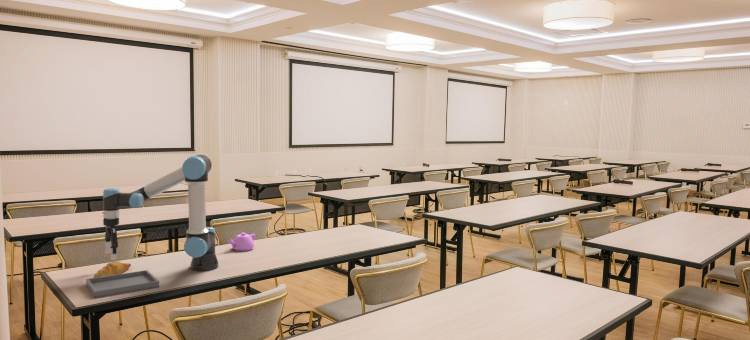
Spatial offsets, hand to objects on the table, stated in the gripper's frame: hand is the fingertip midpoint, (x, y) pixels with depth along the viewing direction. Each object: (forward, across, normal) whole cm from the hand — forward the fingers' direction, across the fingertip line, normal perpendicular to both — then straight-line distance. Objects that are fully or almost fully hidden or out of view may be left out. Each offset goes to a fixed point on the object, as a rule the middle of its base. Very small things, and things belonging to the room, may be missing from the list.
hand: (111, 256), depth 279 cm
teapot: (+9, -12, +79) cm, 81 cm away
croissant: (+10, 0, 0) cm, 10 cm away
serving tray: (+9, +24, 0) cm, 26 cm away
